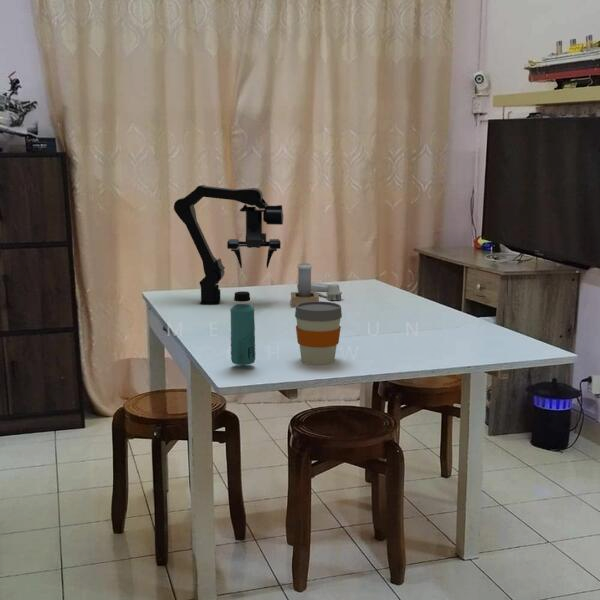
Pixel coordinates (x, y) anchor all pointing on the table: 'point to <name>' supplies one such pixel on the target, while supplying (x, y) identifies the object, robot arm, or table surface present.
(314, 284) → the white elongated device
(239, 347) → the beverage bottle
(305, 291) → the tube
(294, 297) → the socket flange
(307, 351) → the reusable coffee cup
